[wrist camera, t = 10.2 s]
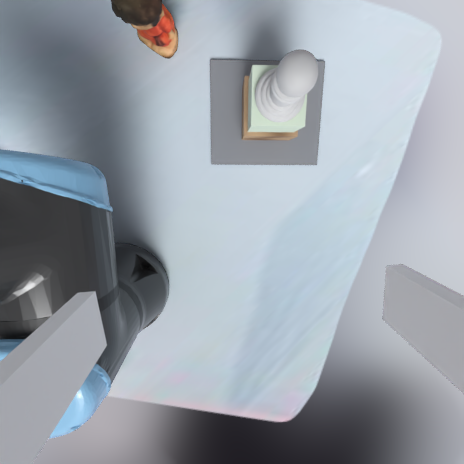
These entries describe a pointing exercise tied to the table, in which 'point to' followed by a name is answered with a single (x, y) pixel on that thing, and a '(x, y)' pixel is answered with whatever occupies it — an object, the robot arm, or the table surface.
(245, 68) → the mat
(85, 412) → the robot arm
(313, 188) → the table surface
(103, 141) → the table surface
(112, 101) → the table surface
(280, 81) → the chess piece
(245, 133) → the block bottom
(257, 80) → the block top
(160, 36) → the figurine
